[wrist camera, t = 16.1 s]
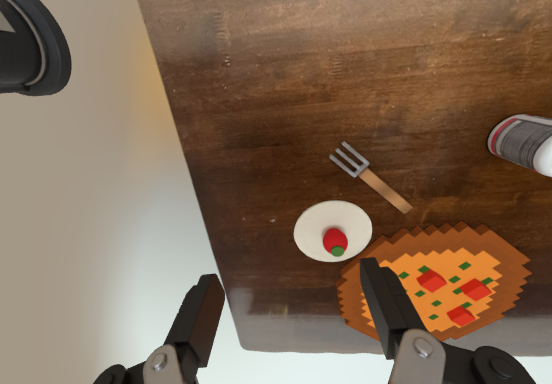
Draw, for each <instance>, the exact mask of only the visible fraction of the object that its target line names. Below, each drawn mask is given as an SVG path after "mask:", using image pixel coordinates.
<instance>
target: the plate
mask: <svg viewBox="0 0 552 384" xmlns="http://www.w3.org/2000/svg"><path fill="white" fill-rule="evenodd" d="M331 228H336V229H339V230H340V231H342V232H343V233H344V234H345V235H346V237H347V239H348V247H347V249H346V250H345V252H344V254H343V255H342V256H340V257H335V256H333V255H332V254H330V253H328V252H327V251H326V250H325V248H324V246H323V237H324V235H325V233H326V231H327V230H329V229H331ZM371 235H372V224H371V221H370V219H369V217H368V215H367V214H366V212H365V211H364V210H363V209H361V208H360V207H358V206H357V205H355V204H353V203H350V202H346V201H340V200H330V201H324V202H321V203H318V204H315V205H313V206H311V207H310V208H308V209H307V210H306V211H304V212H303V213H302V214H301V216H300V217H299V218H298V220H297V222H296V224H295V228H294V238H295V241H296V244H297V246H298V247H299V249H300V250H301V251H302V252H303V253H304V254H306V255H307V256H309V257H311V258H313V259H316V260H319V261H325V262H336V261H342V260H345V259H348V258H351V257H353V256H355V255H356V254H358V253H359V252H361V251H362V250H363V249H364V248H365V247H366V245H367V244H368V242H369V241H370V238H371Z"/></svg>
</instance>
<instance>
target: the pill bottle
mask: <svg viewBox="0 0 552 384" xmlns="http://www.w3.org/2000/svg"><path fill="white" fill-rule="evenodd" d="M488 148H489V150H490V152H491V153H493V154H495V155H497V156H499V157H501V158H504V159H506V160H509V161H511V162H513V163H516V164H519V165H521V166H523V167H526V168H528V169H531V170H533V171H536V172H538V173H540V174H543V175H546V176H550V177H552V119H550V118H544V117H538V116H532V115H515V116H512V117H510V118H508V119H505V120H504V121H502V122H501V123H500V124H499V125H497V126H496V127H495V128H494V129H493V131H492V132H491V134H490V136H489V138H488Z"/></svg>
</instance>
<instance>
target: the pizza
mask: <svg viewBox="0 0 552 384" xmlns="http://www.w3.org/2000/svg"><path fill="white" fill-rule="evenodd" d="M368 257H375V258H376V260H377V262H378V264H379V266H380V267H387V266H388V267H389V268H390V269H391V270H393V271H394V272H395V273H396V274H397V276H398V277H399V279H400V281H401V283H402V286H403V287H404V288H405V290H406V293H407V294H408V296H409V298H410V299H411V301H412V303H413V305H414V307H415V309H416V311H417V312H418V314H419V316H420V318H421V320H422V322H423V323H424V325H425V327H426V328H427V330H428V331H429V332H430V333H431V334H432V335H433V336H434V337H436V338H437V339H439V340H440V341H444V340H446V339H448V338H450V337H452V338H453V339H455V340H456V339H458V338H460V337H462V336H465V335H467V334H469V333H471V332H473V331H475V330H477V329H479V328H482V327H484V326H486V325H488V324H490V323H492V322H494V321H496V320H499V319H501V318H503V317H505V316H504V315H503V313H502V312H504V311H506V310H508V309H510V308H513V307H515V306H516V305H515V304H514V303H513V301H515V300H517V299H519V297H518V296H517V295H516V294H518V293H520V292H522V291H524V290H523V289H522V288H521V287H520V286H521V285H523V284H525V283H527V281H526V280H525V279H524V277H526V276H528V275H530V274H532V273H531V272H529V271H528V270H527V269H526V268H525V267H523V266H522V265H523V264H525V263H527V262H529V261H531V260H530V259H528V258H527V257H526V256H525V255H523V254H522V253H521V252H519V251H518V250H517V249H516V248H514V247H513V246H512V245H510V244H509V243H508V242H506V241H505V240H504V239H502V238H501V237H500V236H498V235H497V234H496V233H494V232H493V231H492V230H491V229H489V228H488V227H487V226H485V225H484V224H483V223H482V224H481V225H480V226H478V227H477V228H475V229H474V230H473V229H472V228H471V227H469V226H468V225H467V224H465V223H464V222H463V221H460V222H459V223H457V224H456V225H454V226H453V227H452V226H451V225H450V224H448V223H447V222H446V223H445V224H443V225H442V226H441V227H439V228H437V227H436V226H434V225H433V224H431V225H430V226H428V227H427V228H426V229H424V230H423V229H422V228H420V227H419V226H416V227H415V228H414V229H412V230H411V231H408V230H407V229H405V228H404V227H403V228H402V229H400V230H399V231H398V232H397V233H396V234H394V235H393V236H392V237H391V238H387V237H386V236H384V235H381V236H380V237H379V238H378V239H377V240H375V241H374V242H373V243H372V244H371V245H369V246H368V247H367V248H366V249H365V250H363V251H362V252H361V253H360V254H359V255H357V256H356V257H355V258H354V259H353V260H351V261H350V262H349V263H348V264H347V265H345V266H344V267H343V268H342V269H341V270H340V272H341V276H342V277H341V278H340V279H339V280H337V281H336V287H337V289H336V290H337V295H338V296H337V298H338V306H339V314H340V316H341V317H343V318H345V322H346V325H348V326H350V327H352V328H354V329H356V330H358V331H360V332H362V333H364V334H366V335H368V336H370V337H372V338H374V339H376V340H378V341H380V339H379V336H378V333H377V331H376V328H375V325H374V322H373V319H372V316H371V313H370V310H369V307H368V305H367V302H366V299H365V296H364V293H363V290H362V287H361V282H360V258H368Z"/></svg>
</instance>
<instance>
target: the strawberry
mask: <svg viewBox="0 0 552 384" xmlns="http://www.w3.org/2000/svg"><path fill="white" fill-rule="evenodd" d="M323 246H324V248H325V250H326V251H327V252H328V253H330V254H332V255H333V256H335V257H340V256H342V255H343V254H344V252H345V250H346V249H347V247H348V239H347V237H346V235H345V234H344V233H343V232H342V231H340V230H339V229H336V228H331V229H329V230H327V231H326V233H325V235H324V237H323Z"/></svg>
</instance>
